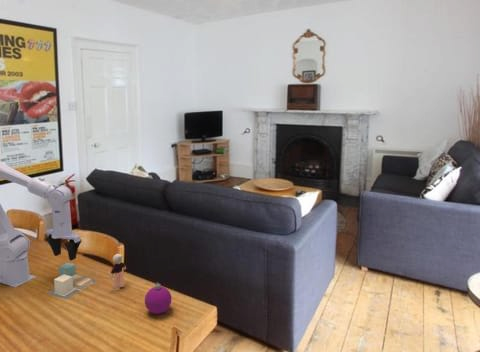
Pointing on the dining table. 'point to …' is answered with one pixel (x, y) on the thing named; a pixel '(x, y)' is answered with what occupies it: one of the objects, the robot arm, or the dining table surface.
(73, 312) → the dining table surface
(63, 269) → the teal block
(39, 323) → the dining table surface
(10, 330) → the dining table surface
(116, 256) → the grandmother figurine
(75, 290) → the slate mat
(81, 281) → the beech brick
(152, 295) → the christmas ornament
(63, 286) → the cream block
